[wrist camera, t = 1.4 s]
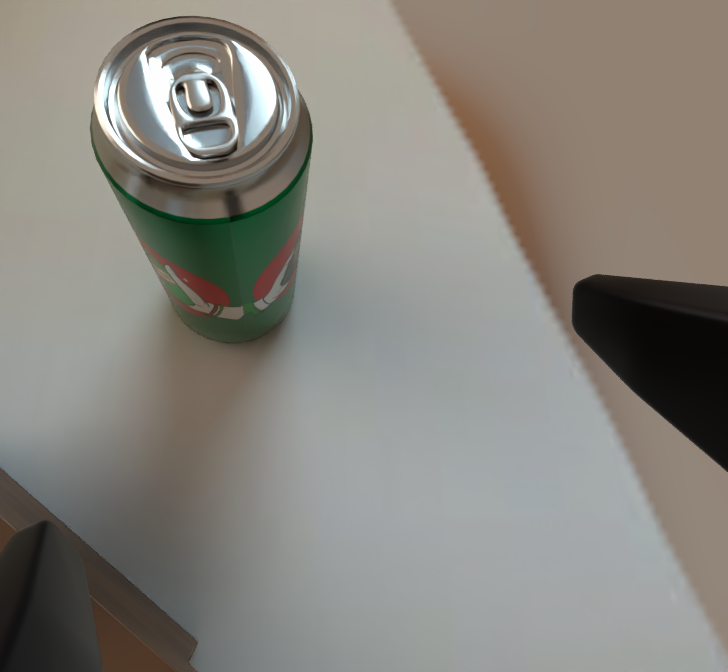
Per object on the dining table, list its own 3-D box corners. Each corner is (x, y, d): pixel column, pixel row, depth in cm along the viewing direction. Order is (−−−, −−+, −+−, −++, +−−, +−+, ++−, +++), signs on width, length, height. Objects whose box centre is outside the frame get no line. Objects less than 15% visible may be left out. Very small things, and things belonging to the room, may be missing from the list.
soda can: (277, 225, 24) (284, -9, 13) (307, 331, 23) (343, 176, 12) (160, 247, 23) (54, 12, 12) (186, 360, 22) (96, 220, 11)
